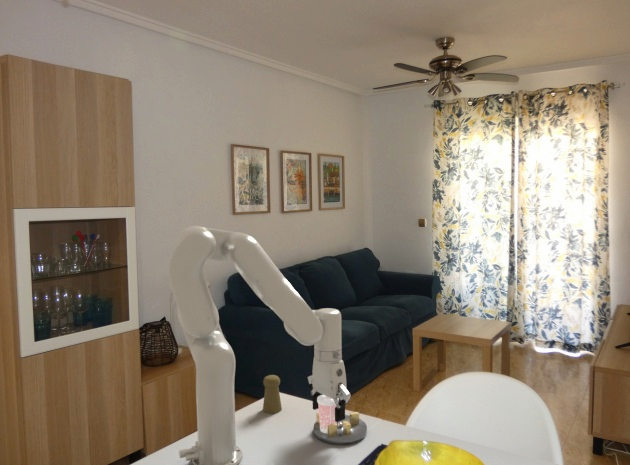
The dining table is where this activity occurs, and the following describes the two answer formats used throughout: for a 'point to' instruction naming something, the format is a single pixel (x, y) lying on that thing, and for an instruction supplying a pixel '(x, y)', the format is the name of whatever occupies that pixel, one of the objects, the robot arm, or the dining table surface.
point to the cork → (271, 395)
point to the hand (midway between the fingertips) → (328, 414)
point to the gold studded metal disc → (342, 430)
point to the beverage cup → (326, 412)
